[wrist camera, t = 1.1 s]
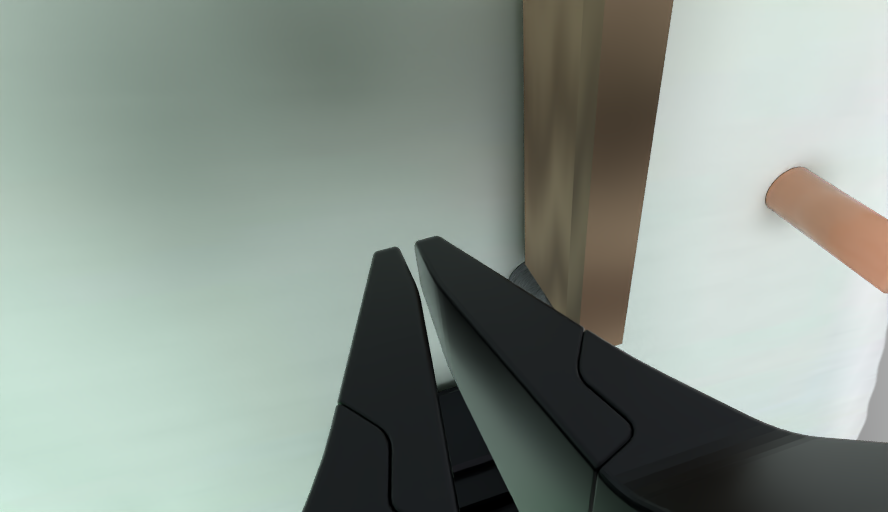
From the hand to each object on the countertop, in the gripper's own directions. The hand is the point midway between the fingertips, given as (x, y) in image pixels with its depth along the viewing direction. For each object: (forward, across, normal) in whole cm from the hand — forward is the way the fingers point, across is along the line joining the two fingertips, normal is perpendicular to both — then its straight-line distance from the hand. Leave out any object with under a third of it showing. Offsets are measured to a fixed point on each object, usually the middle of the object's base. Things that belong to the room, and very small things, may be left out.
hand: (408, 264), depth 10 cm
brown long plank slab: (+10, -7, +2) cm, 13 cm away
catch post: (+11, -20, +11) cm, 26 cm away
